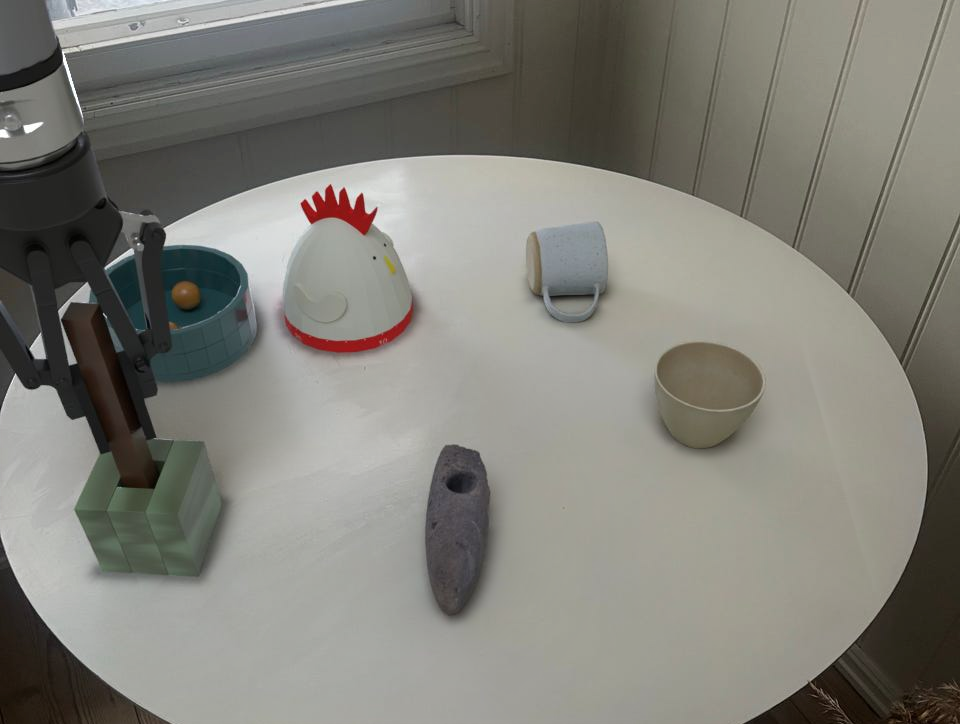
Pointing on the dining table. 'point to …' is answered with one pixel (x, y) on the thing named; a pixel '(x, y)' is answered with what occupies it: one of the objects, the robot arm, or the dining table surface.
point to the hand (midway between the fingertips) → (124, 434)
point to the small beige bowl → (706, 391)
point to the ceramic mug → (568, 264)
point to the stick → (109, 393)
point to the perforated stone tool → (456, 525)
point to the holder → (152, 512)
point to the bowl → (193, 311)
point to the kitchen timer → (344, 279)
